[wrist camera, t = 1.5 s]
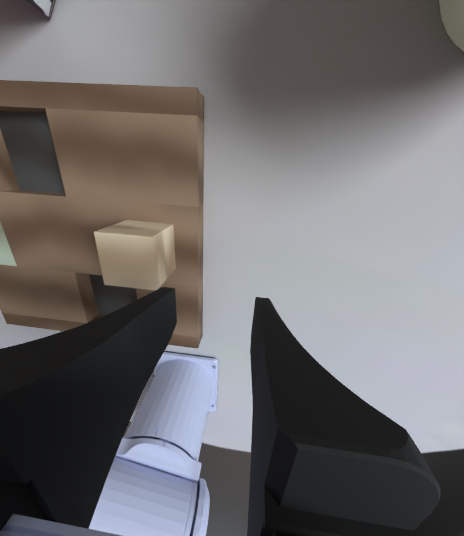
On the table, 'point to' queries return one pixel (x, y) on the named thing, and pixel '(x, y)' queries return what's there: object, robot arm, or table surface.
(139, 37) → the table surface
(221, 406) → the table surface
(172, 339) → the board
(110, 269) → the maple block
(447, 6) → the orange jar
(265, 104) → the table surface
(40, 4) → the candy bar box
